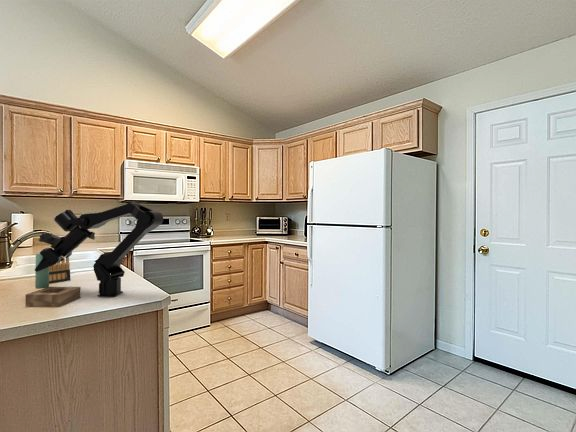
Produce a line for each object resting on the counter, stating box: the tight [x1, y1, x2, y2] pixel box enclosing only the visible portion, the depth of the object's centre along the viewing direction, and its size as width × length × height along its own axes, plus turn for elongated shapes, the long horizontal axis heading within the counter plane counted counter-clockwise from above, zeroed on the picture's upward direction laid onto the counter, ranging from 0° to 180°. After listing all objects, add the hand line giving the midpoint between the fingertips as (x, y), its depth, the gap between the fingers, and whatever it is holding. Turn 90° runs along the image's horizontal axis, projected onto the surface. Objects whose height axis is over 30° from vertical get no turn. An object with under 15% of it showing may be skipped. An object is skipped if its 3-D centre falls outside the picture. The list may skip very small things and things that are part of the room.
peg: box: [34, 253, 50, 290], centre depth 117 cm, size 4×4×12 cm
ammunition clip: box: [49, 256, 71, 285], centre depth 139 cm, size 11×2×12 cm, turn 152°
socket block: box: [25, 286, 81, 308], centre depth 109 cm, size 11×11×4 cm
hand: (37, 269), depth 116 cm, fingers closed on peg, 4 cm apart
